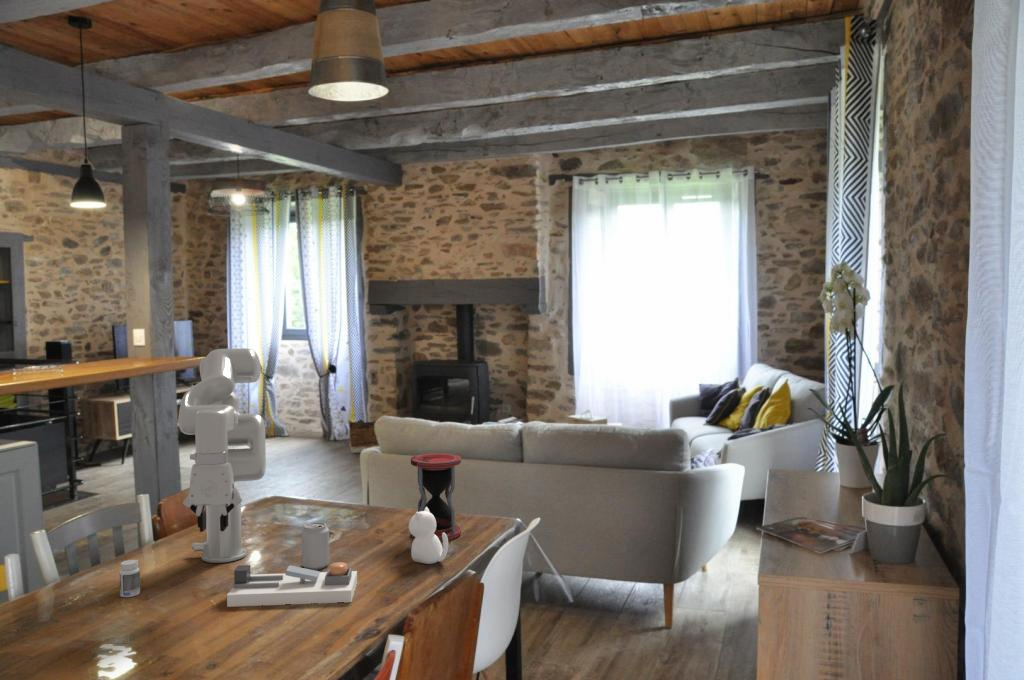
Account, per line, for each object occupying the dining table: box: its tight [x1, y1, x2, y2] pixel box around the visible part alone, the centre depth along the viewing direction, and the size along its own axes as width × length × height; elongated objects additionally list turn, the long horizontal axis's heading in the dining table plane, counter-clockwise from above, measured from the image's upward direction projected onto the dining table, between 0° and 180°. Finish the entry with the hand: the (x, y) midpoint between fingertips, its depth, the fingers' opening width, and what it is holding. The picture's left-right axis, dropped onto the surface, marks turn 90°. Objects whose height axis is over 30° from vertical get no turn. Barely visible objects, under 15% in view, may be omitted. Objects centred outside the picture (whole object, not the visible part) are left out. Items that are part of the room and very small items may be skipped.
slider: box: [233, 564, 251, 585], centre depth 195 cm, size 3×4×4 cm
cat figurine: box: [408, 507, 449, 565], centre depth 222 cm, size 9×12×15 cm
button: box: [329, 561, 348, 576], centre depth 198 cm, size 4×4×2 cm
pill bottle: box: [118, 559, 141, 598], centre depth 197 cm, size 5×5×8 cm
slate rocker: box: [284, 565, 321, 581], centre depth 197 cm, size 8×4×1 cm, turn 96°
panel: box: [226, 567, 358, 608], centre depth 197 cm, size 30×14×5 cm, turn 96°
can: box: [301, 521, 330, 571], centre depth 218 cm, size 8×8×12 cm
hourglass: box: [410, 452, 462, 542], centre depth 248 cm, size 16×16×25 cm
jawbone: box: [329, 529, 344, 545], centre depth 243 cm, size 9×20×2 cm, turn 17°
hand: (213, 529), depth 194 cm, fingers open, 4 cm apart
